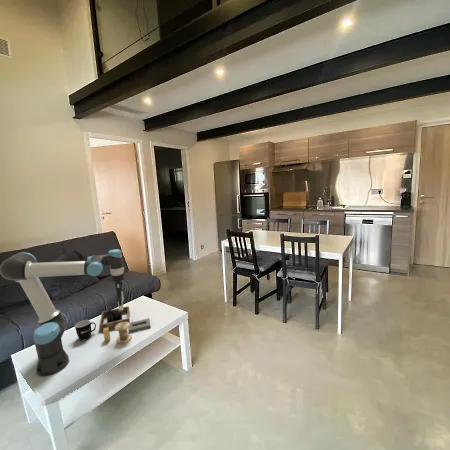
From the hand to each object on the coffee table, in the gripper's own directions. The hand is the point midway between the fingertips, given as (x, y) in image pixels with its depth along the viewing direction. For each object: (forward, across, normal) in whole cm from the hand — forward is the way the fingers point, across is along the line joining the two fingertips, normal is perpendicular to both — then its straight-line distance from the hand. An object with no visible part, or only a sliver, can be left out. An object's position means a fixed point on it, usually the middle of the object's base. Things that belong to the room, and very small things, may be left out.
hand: (121, 305), depth 163 cm
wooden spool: (+21, -4, 0) cm, 22 cm away
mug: (+22, +11, +24) cm, 34 cm away
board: (+21, +7, -10) cm, 24 cm away
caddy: (+22, +23, +6) cm, 32 cm away
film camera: (+22, +23, +7) cm, 32 cm away
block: (+22, 0, +10) cm, 24 cm away
